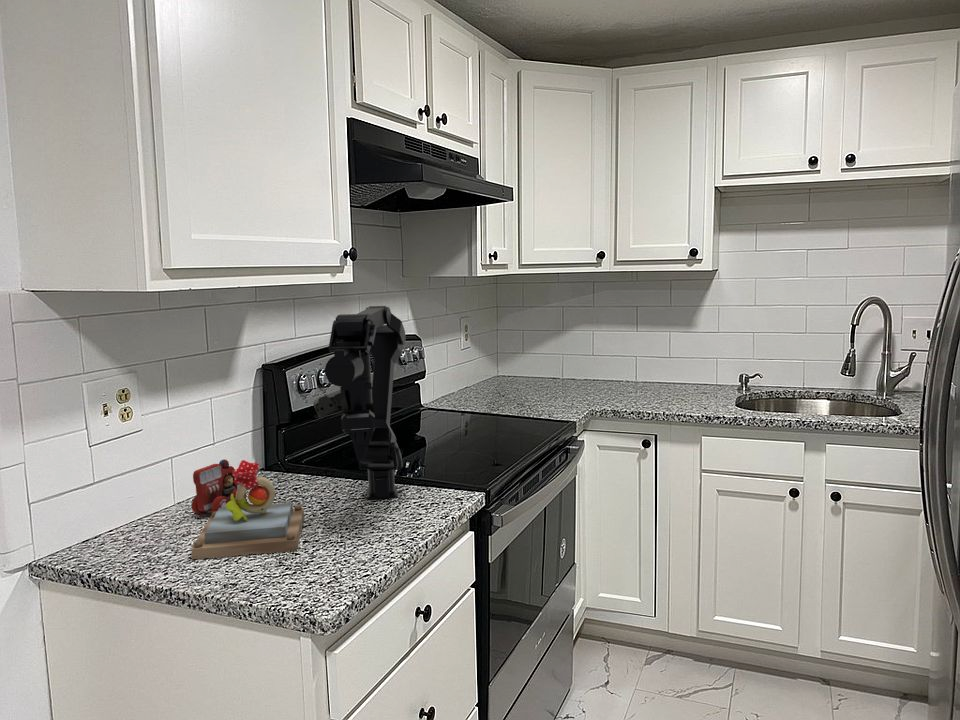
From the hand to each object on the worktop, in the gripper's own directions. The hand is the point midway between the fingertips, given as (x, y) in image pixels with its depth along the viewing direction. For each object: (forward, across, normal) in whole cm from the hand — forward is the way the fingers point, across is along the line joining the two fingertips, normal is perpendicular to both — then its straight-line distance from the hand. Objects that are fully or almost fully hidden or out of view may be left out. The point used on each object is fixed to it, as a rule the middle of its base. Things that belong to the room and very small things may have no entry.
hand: (360, 454), depth 148 cm
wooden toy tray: (+13, +6, -21) cm, 25 cm away
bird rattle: (+9, +6, -21) cm, 24 cm away
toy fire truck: (+13, -12, -30) cm, 35 cm away
